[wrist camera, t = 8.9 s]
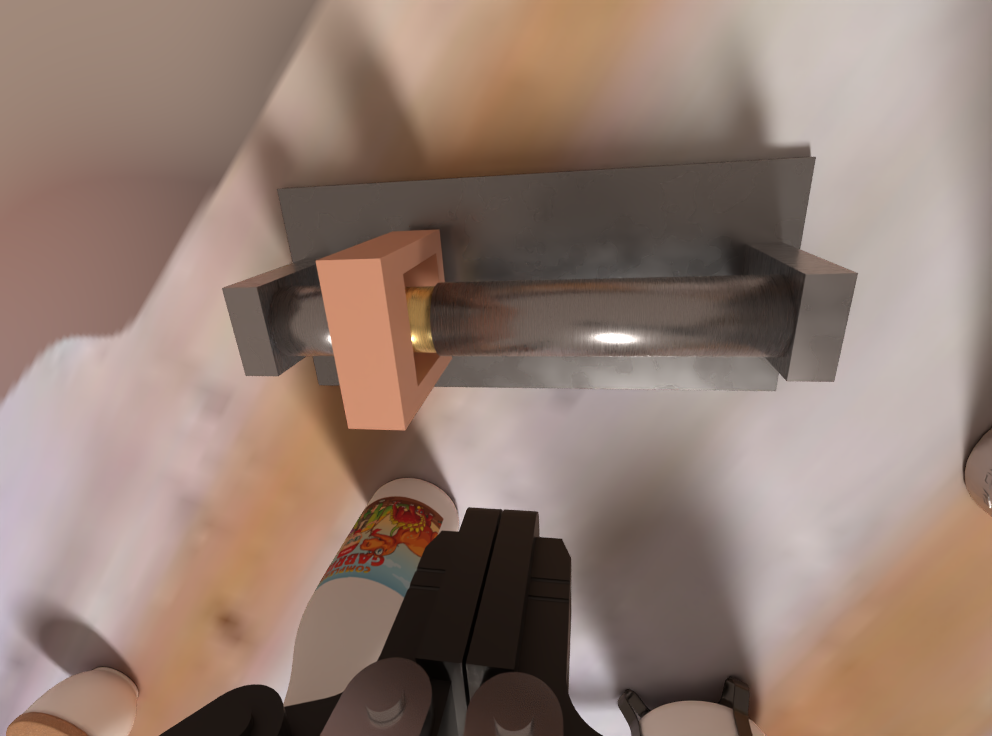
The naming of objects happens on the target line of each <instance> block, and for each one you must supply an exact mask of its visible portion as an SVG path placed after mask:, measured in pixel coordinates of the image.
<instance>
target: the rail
mask: <svg viewBox="0 0 992 736" xmlns="http://www.w3.org/2000/svg"><path fill="white" fill-rule="evenodd" d="M815 159H816V157H801V158H784V159H768V160H751V161H734V162H717V163H701V164H684V165H667V166H651V167H634V168H617V169H601V170H584V171H567V172H551V173H534V174H517V175H500V176H484V177H467V178H450V179H434V180H417V181H400V182H384V183H367V184H350V185H334V186H317V187H300V188H283V189H277V191H278V195H279V200H280V205H281V209H282V214H283V219H284V223H285V228H286V233H287V238H288V242H289V247H290V252H291V256H292V261H293V263H291V264H288V265H285V266H283V267H280V268H277V269H274V270H271V271H269V272H266V273H263V274H260V275H257V276H255V277H252V278H249V279H246V280H243V281H241V282H238V283H235V284H232V285H229V286H226V287H224V288H222V290H223V294H224V298H225V301H226V305H227V309H228V312H229V316H230V320H231V323H232V327H233V331H234V334H235V338H236V342H237V345H238V349H239V353H240V356H241V360H242V364H243V367H244V371H245V375H246V376H279V375H281V374H282V373H283V372H285V371H286V370H288V369H289V368H290V367H292V366H293V365H295V364H296V363H297V362H299V361H300V360H302V359H303V358H305V357H306V356H313V360H314V364H315V369H316V374H317V378H318V383H319V385H340V383H339V378H338V373H337V368H336V363H335V358H334V353H333V348H332V343H331V337H330V332H329V327H328V322H327V317H326V312H325V307H324V302H323V297H322V291H321V286H320V281H319V276H318V271H317V266H316V260H318V259H321V258H324V257H326V256H329V255H332V254H334V253H337V252H339V251H342V250H345V249H347V248H350V247H353V246H355V245H358V244H361V243H363V242H366V241H369V240H371V239H374V238H376V237H379V236H382V235H384V234H387V233H390V232H392V231H414V230H438V229H440V239H441V249H442V260H443V270H444V280H445V282H439V283H437V284H436V285H435V286H422V287H405V293H406V300H407V308H408V316H409V323H410V331H411V339H412V347H413V353H437V354H438V355H439V356H452V360H451V361H450V363H449V364H448V366H447V367H446V369H445V370H444V372H443V373H442V375H441V376H440V378H439V380H438V381H437V383H436V384H435V386H434V387H498V388H574V389H651V390H727V391H776V387H777V381H778V375H779V373H780V374H781V375H782V377H783V378H784V379H785V380H786V381H813V382H834V380H835V375H836V371H837V366H838V362H839V357H840V353H841V348H842V343H843V339H844V334H845V330H846V325H847V320H848V316H849V311H850V307H851V302H852V298H853V293H854V288H855V284H856V279H857V275H858V273H856V272H854V271H851V270H849V269H846V268H844V267H841V266H839V265H837V264H834V263H832V262H829V261H827V260H824V259H822V258H820V257H817V256H815V255H812V254H810V253H807V252H805V251H802V250H800V246H801V241H802V235H803V229H804V223H805V217H806V211H807V205H808V200H809V194H810V188H811V182H812V176H813V170H814V165H815Z"/></svg>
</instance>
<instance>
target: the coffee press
mask: <svg viewBox="0 0 992 736" xmlns="http://www.w3.org/2000/svg"><path fill="white" fill-rule="evenodd" d="M749 693H750V692H749V687H748V685H747V684H746V683H744V682H742V681H740V680H737V679H735V678H733V677H728V678H727V679H726V681H725V684H724V689H723V693H722V697H721V699H720V701H719V703H718V704H716V703H711V702H705V701H679V702H673V703H669V704H665V705H662V706H660V707H657V708H655V709H653V710H652V711H651V710H650V709H648V708H647V707H646V706H645V704H644V703H643V702H642V701H641V699H640V698H639V696H638V695H637V694H636V693H635V692H634V691H633V690H630V689H627V690H626V691H625V692H624V693H623V694H622V695H621V697H620V698H619V699H618V706H619V708H620V710H621V712H622V714H623V715H624V717H625V719H626V721H627V722H628V725H629V727H630V730H631V736H766V735H765V734H764V732H763V731H762V730H761V729H760V728H759V727H758V726H757V725H756V724H755V723H754V722H753V721H752V720H750V719H749V718H748V704H749ZM629 703H630V704H631V705H630V704H629ZM631 706H632V707H633V709H634V710H635V711H636V713H637V714H638V715H639V716H640V717H641V719H640V721H638V718H637V716H636V714H635V712H634V710H633V709H632V707H631Z"/></svg>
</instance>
